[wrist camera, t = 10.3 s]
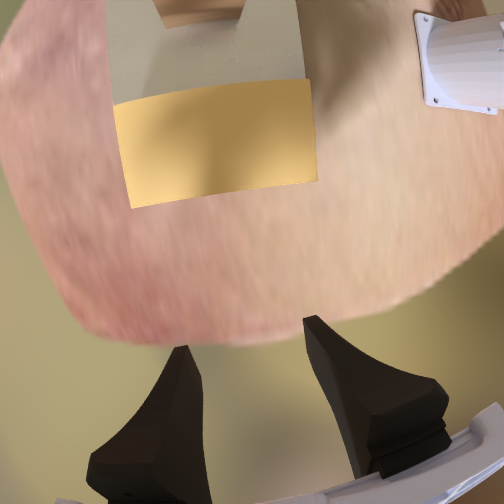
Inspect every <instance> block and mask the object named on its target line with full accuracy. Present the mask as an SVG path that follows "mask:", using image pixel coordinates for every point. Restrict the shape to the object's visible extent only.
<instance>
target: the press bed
mask: <svg viewBox="0 0 504 504" xmlns="http://www.w3.org/2000/svg"><path fill="white" fill-rule="evenodd" d="M106 27H107V43H108V56H109V67H110V77H111V86H112V94H113V102H114V105H117V104H121V103H125V102H129V101H133V100H138V99H142V98H147V97H151V96H156V95H161V94H166V93H171V92H177V91H183V90H189V89H195V88H201V87H208V86H216V85H224V84H233V83H242V82H253V81H266V80H283V79H306V74H305V66H304V57H303V49H302V42H301V34H300V27H299V20H298V13H297V7H296V1H295V0H246V2H245V5H244V8H243V11H242V14H241V17H240V19H233V20H223V21H215V22H207V23H200V24H193V25H187V26H181V27H176V28H170V29H166V28H165V26H164V24H163V21H162V19H161V17H160V15H159V13H158V11H157V9H156V7H155V5H154V3H153V1H152V0H106Z"/></svg>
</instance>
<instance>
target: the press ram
mask: <svg viewBox="0 0 504 504" xmlns="http://www.w3.org/2000/svg"><path fill="white" fill-rule="evenodd" d="M113 110H114V117H115V124H116V130H117V137H118V143H119V149H120V154H121V160H122V165H123V171H124V176H125V181H126V186H127V191H128V196H129V200H130V205H131V209H132V208H137V207H142V206H148V205H153V204H159V203H164V202H170V201H176V200H182V199H188V198H194V197H200V196H207V195H213V194H220V193H226V192H233V191H240V190H248V189H255V188H263V187H271V186H279V185H287V184H296V183H305V182H314V181H318V172H317V156H316V142H315V129H314V117H313V106H312V96H311V86H310V79H283V80H266V81H253V82H242V83H233V84H224V85H216V86H208V87H201V88H195V89H189V90H183V91H177V92H171V93H166V94H161V95H156V96H151V97H147V98H142V99H138V100H133V101H129V102H125V103H121V104H117V105H113Z"/></svg>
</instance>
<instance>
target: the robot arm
mask: <svg viewBox="0 0 504 504" xmlns="http://www.w3.org/2000/svg"><path fill="white" fill-rule="evenodd" d="M424 18H425V20H426V21H425V20H424ZM414 21H415V26H416V32H417V38H418V45H419V52H420V60H421V69H422V79H423V90H424V101H425V103H426V104H427V105H429V106H437V107H446V108H454V109H461V110H468V111H475V112H481V113H487V114H492V115H496V114H497V112H498V109H504V13H501V14H494V15H488V16H482V17H476V18H471V19H466V20H461V21H456V22H450V21H447V20H444V19H441V18H437V17H434V16H431V15H427V14H423V13H416V14H414ZM434 98H435V102H434ZM487 107H488V109H487ZM303 325H304V333H305V341H306V349H307V354H308V357H309V360H310V363H311V365H312V368H313V371H314V373H315V375H316V377H317V379H318V381H319V383H320V385H321V387H322V389H323V392H324V394H325V396H326V398H327V400H328V402H329V404H330V406H331V408H332V410H333V413H334V415H335V418H336V421H337V424H338V427H339V430H340V432H341V435H342V438H343V441H344V444H345V447H346V450H347V454H348V457H349V460H350V464H351V467H352V470H353V474H354V477H355V480H353V481H350V482H347V483H345V484H342V485H338V486H335V487H331V488H328V489H325V490H321V491H318V492H314V493H306V494H300V495H295V496H291V497H286V498H282V499H277V500H272V501H267V502H261V503H256V504H448V503H450V502H451V501H453V500H455V499H456V498H458V497H459V496H461V495H462V494H464V493H465V492H467V491H468V490H470V489H471V488H473V487H474V486H476V485H477V484H479V483H480V482H482V481H483V480H484V479H486V478H487V477H488V476H490V475H491V474H493V473H494V472H496V471H497V470H498V469H500V468H501V467H502V466H503V465H504V411H503V409H502V408H501V407H500V405H499V404H498V403H497V402H495V403H493V404H492V405H490V406H489V407H487V408H486V409H484V410H483V411H481V412H480V413H478V414H477V415H476V416H475V417H474V418H473V419H472V421H471V422H470V425H469V427H467V428H466V429H464V430H462V431H460V432H459V433H457V434H455V435H454V436H452V437H450V436H449V435H448V433H447V432H446V430H445V429H444V428H445V427H446V424H445V422H444V421H443V419H442V417H443V415H444V413H445V410H446V408H447V406H448V402H449V396H448V394H446V392H445V390H444V389H443V388H442V386H440V384H439V383H438V382H437V381H436V380H435V379H432V378H427V377H423V376H418V375H414V374H411V373H408V372H405V371H401V370H399V369H396V368H394V367H391V366H388V365H386V364H384V363H382V362H380V361H378V360H376V359H374V358H372V357H370V356H369V355H367V354H365V353H364V352H362V351H360V350H359V349H357V348H356V347H354V346H353V345H352V344H350V343H349V342H347V341H346V340H345V339H344V338H342V337H341V336H340V335H338V334H337V333H336V332H335V331H334V330H333V329H331V328H330V327H329V326H328V325H327V324H326V323H325V322H324V321H323V320H322V319H321V318H320V317H319V316H317V315H314V316H310V317H306V318H303ZM202 431H203V389H202V380H201V375H200V373H199V370H198V368H197V366H196V363H195V361H194V359H193V357H192V354H191V352H190V350H189V347H188V345H185V346H180V347H175V348H174V349H173V351H172V353H171V355H170V357H169V359H168V361H167V363H166V365H165V367H164V369H163V371H162V373H161V375H160V377H159V379H158V381H157V382H156V384H155V386H154V387H153V389H152V391H151V392H150V394H149V396H148V397H147V399H146V400H145V401H144V403H143V405H142V406H141V407H140V409H139V410H138V411H137V412H136V414H135V415H134V416H133V417H132V418H131V419H130V420H129V422H128V423H127V424H126V425H125V426H124V427H123V428H122V429H121V430H120V431H119V432H118V433H117V434H116V435H115V436H113V437H112V438H111V439H110V440H109V441H108V442H106V443H105V444H104V445H102V446H101V447H100V448H98V449H97V450H96V451H94V452H93V453H91V456H90V460H89V464H88V470H87V476H86V481H87V483H88V485H89V486H90V487H91V488H92V489H94V490H95V491H96V492H98V493H99V494H100V495H102V496H103V497H105V498H106V499H107V500H108V504H212V500H211V496H210V490H209V485H208V480H207V472H206V466H205V458H204V450H203V438H202V437H203V435H202V434H203V432H202ZM55 504H82V503H80V502H77V501H73V500H67V499H61V498H56V501H55Z"/></svg>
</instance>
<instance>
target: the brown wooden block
mask: <svg viewBox="0 0 504 504" xmlns="http://www.w3.org/2000/svg"><path fill="white" fill-rule="evenodd" d="M152 1H153V3H154V5H155V7H156V9H157V11H158V13H159V15H160V17H161V19H162V21H163V24H164V26H165V28H166V29H170V28H176V27H181V26H187V25H193V24H200V23H207V22H215V21H223V20H233V19H240V17H241V14H242V11H243V8H244V5H245V2H246V0H152Z"/></svg>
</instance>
